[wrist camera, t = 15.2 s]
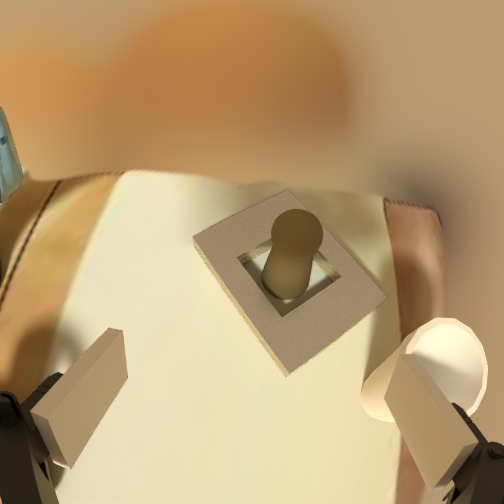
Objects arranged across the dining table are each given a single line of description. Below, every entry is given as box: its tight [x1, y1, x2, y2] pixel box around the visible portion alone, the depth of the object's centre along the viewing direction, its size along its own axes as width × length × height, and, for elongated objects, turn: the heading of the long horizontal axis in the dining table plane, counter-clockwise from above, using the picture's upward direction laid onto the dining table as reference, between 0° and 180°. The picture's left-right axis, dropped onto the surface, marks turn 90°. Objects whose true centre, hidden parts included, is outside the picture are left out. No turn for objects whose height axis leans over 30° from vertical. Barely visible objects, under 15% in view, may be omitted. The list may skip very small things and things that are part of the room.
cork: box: [262, 209, 323, 300], centre depth 34 cm, size 6×6×11 cm
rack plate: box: [192, 190, 387, 377], centre depth 37 cm, size 20×15×2 cm
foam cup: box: [361, 318, 488, 423], centre depth 25 cm, size 10×9×13 cm
